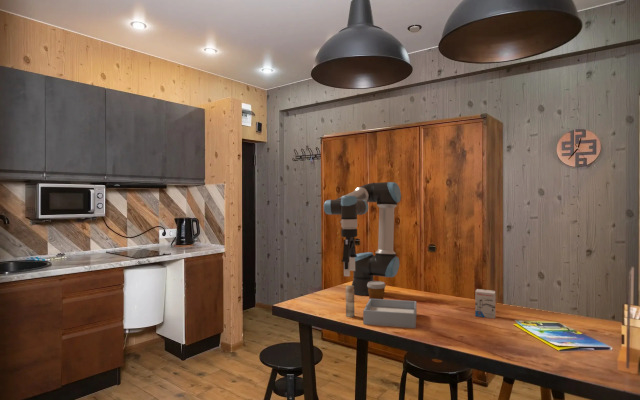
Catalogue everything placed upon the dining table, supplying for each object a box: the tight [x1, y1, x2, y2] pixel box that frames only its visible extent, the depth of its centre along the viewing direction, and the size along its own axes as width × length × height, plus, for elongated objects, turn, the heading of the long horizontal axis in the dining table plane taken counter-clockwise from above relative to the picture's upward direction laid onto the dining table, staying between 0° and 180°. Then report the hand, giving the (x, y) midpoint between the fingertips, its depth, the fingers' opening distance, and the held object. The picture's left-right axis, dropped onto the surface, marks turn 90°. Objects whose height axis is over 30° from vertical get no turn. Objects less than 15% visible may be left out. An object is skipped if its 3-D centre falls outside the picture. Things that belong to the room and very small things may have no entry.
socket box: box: [362, 298, 418, 329], centre depth 174 cm, size 21×22×6 cm
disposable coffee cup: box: [367, 280, 386, 299], centre depth 194 cm, size 10×10×12 cm
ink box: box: [474, 288, 497, 320], centre depth 176 cm, size 9×5×12 cm, turn 62°
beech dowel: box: [345, 284, 355, 318], centre depth 179 cm, size 4×4×14 cm
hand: (349, 273), depth 178 cm, fingers open, 13 cm apart
